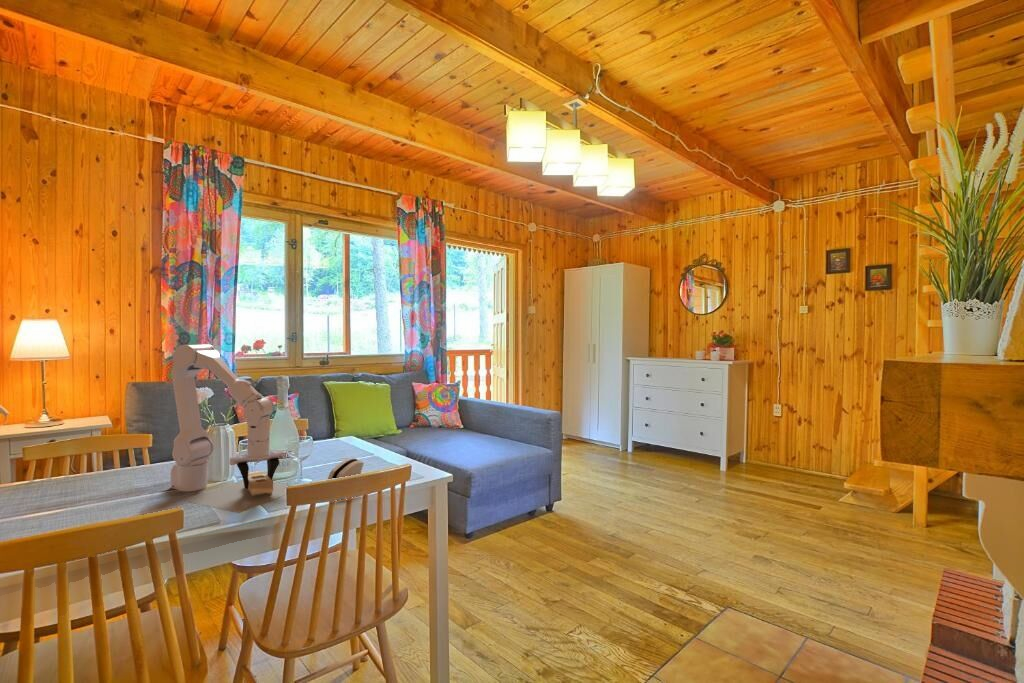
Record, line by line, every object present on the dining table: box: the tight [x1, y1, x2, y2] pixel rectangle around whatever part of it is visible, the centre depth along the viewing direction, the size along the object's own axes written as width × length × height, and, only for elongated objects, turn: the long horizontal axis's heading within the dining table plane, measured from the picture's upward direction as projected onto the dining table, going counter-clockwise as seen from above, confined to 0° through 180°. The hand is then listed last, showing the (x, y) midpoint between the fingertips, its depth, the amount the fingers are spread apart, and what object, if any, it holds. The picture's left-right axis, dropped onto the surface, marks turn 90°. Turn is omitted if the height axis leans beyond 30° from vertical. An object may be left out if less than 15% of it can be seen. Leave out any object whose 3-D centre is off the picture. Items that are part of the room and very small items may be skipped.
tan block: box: [243, 470, 274, 495], centre depth 145 cm, size 14×5×3 cm, turn 37°
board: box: [179, 479, 288, 514], centre depth 143 cm, size 22×22×4 cm
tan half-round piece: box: [327, 457, 364, 479], centre depth 156 cm, size 17×5×10 cm, turn 170°
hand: (257, 485), depth 145 cm, fingers closed on tan block, 5 cm apart
